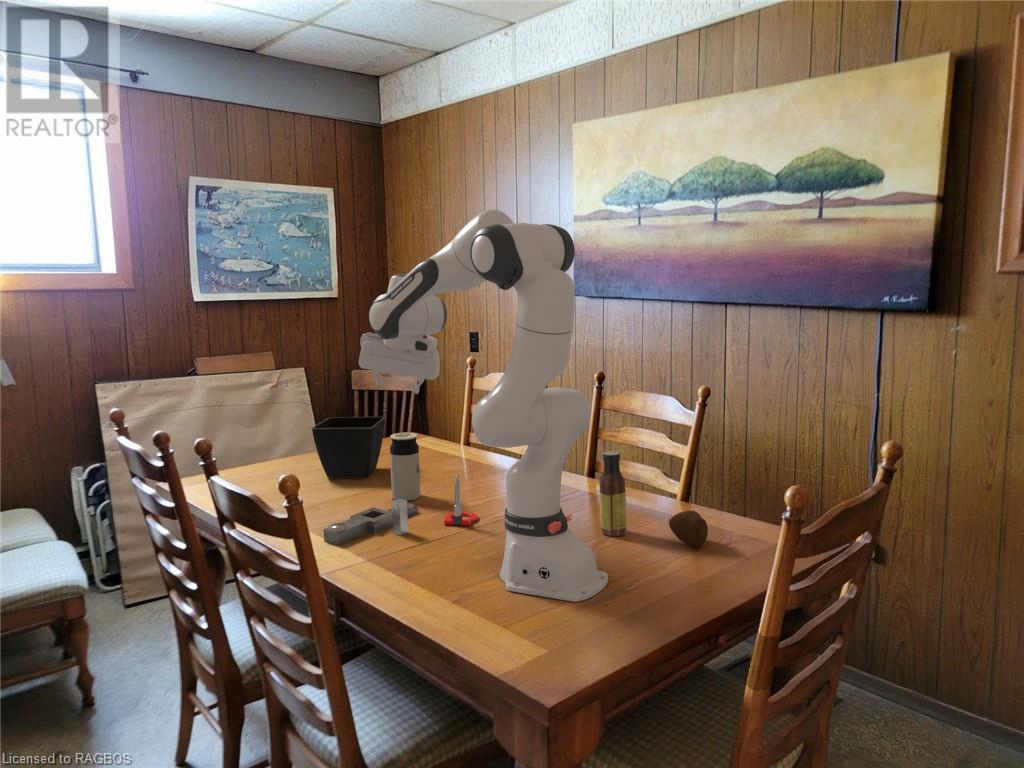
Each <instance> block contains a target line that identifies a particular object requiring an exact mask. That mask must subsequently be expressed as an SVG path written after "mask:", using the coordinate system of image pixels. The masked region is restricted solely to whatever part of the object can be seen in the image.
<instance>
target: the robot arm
mask: <svg viewBox="0 0 1024 768" xmlns="http://www.w3.org/2000/svg"><path fill="white" fill-rule="evenodd" d="M574 259H575V244H574V240H573V238H572V236H571V234H570V233H569V231H567V230H566V229H565V228H563V227H561V226H558V225H555V224H550V223H549V224H548V223H545V224H544V223H543V224H539V223H527V222H514V221H513V220H512V219H511V218H510V217H509V215H507V214H506V213H505V212H503V211H501V210H498V209H486V210H484V211H481V212H479V214H477V215H476V216H474V217H472V219H471V220H470V221H467V224H465V225H464V226H463V227H462V228H461V229H460V230H459V231H458V233H457V234H456V235H455V236H454V237H453V239H452V240H450V242H448V243H447V244H446V245H445V246H444V247H442V248H441V249H440V250H439V251H438V252H436V253H435V254H433V255H431V256H430V257H428V258H426V259H424V260H423V261H421V263H419V264H417V265H416V266H415V267H414V268H413V269H411V271H409V272H408V273H396V274H394V275H392V276H391V277H390V280H389V283H388V288H387V291H386V293H384V294H380V295H378V296H377V298H375V300H374V301H373V302H372V304H371V306H370V307H369V310H368V322H369V326H370V328H371V330H372V331H374V332H366V333H363V334H362V335H361V337H360V341H359V343H360V347H361V348H360V353H359V359H358V365H359V367H360V368H361V369H362V370H363V369H364V370H370V371H371V374H372V376H373V380H374V381H375V388H378V389H379V388H380V389H382V388H383V386H384V379H382V378H381V377H380V375H379V374H380V373H381V372H382V373H386V374H388V373H389V374H394V375H399V376H404V377H405V376H406V377H411V378H416V380H417V382H418V383H417V384H413V386H412V388H411V394H414V395H415V394H416V395H418V394H419V392H420V386H421V385H422V384H423V383H424V381H425V380H430V381H434V380H435V379H437V378H438V376H439V375H440V366H441V365H440V364H441V361H440V353H439V351H438V349H437V347H438V343H439V342H438V341H439V339H437V338H435V337H433V335H436V334H440V332H442V330H443V329H444V328H445V325H446V323H447V319H448V318H447V317H448V310H447V309H448V308H447V306H446V303H445V302H444V301H443V300H442V298H440V297H439V296H437V294H441V293H442V294H443V293H448V292H456V291H459V292H460V291H466V290H470V289H471V290H472V289H474V288H477V287H478V286H480V285H482V284H483V283H485V282H487V281H488V282H489V283H493V284H495V286H497V287H498V288H499V289H501V290H502V291H507V290H510V289H511V288H513V289H514V290H515V291H516V294H517V299H518V301H517V304H518V305H517V311H516V312H517V313H516V318H515V328H514V336H513V341H512V342H513V343H512V347H511V348H512V349H511V353H510V357H509V361H508V364H507V366H506V369H505V370H504V372H503V374H502V376H501V378H500V379H499V381H497V384H495V386H494V387H493V388H492V389H491V390H490V391H489V392H488V393H487V394H485V396H483V397H482V398H480V399H479V400H478V401H477V403H476V405H475V406H474V408H473V410H472V415H471V427H472V430H473V432H474V433H473V434H474V435H475V436H476V438H477V440H478V441H479V442H480V443H482V444H481V445H483V446H485V447H490V448H500V449H502V448H503V449H510V448H517V447H523V446H524V447H525V446H527V448H526V450H525V452H524V454H523V455H522V456H521V458H520V459H519V460H517V461H516V462H515V463H514V464H512V465H511V466H510V468H509V470H508V471H507V473H506V479H505V480H506V481H505V482H506V483H505V485H506V492H505V493H506V508H505V509H504V528H505V533H506V535H505V548H504V553H503V554H504V555H503V559H502V564H501V569H500V571H499V577H500V579H501V581H503V582H504V585H505V589H506V590H507V591H509V592H515V593H519V594H520V593H522V594H527V595H532V596H536V597H537V596H538V597H545V598H550V599H557V600H561V601H566V602H567V601H568V602H573V603H574V602H580V601H585V600H587V599H590V598H592V597H594V596H595V595H597V594H598V593H600V592H601V591H602V590H604V588H606V587H607V584H608V582H609V576H608V573H607V572H605V571H602V570H599V569H598V565H597V561H596V560H597V559H596V555H595V552H594V551H593V549H592V548H591V547H590V546H588V544H586V543H585V542H584V541H583V540H582V539H581V538H579V536H577V535H576V534H575V533H574V531H573V530H571V529H570V528H569V524H568V522H569V521H571V520H572V516H573V514H571V513H570V514H569V515H567V516H566V515H565V514H564V511H563V509H562V507H561V492H562V491H561V489H562V488H561V487H562V475H563V469H564V466H565V462H566V459H567V457H568V455H569V453H570V451H571V449H572V447H573V446H574V444H575V442H576V441H577V440H578V438H579V437H580V436H582V434H584V433H585V432H586V431H587V429H588V427H589V425H590V423H591V418H592V413H591V412H592V410H591V406H590V403H589V400H588V399H587V397H586V396H585V394H583V392H582V391H580V390H578V389H575V388H568V387H559V386H558V387H557V386H554V387H548V385H550V383H551V382H552V381H553V380H554V379H556V378H557V377H559V376H560V375H562V374H563V372H564V371H565V370H566V369H567V366H568V363H569V358H570V351H571V344H572V337H573V331H574V322H575V309H576V307H575V306H576V300H575V299H576V298H575V284H574V281H573V279H572V277H571V276H570V274H568V273H567V272H568V271H569V270H570V268H571V267H572V265H573V263H574ZM431 335H432V336H431Z"/></svg>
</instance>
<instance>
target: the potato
mask: <svg viewBox="0 0 1024 768" xmlns="http://www.w3.org/2000/svg"><path fill="white" fill-rule="evenodd" d="M668 525H669V528H670V530H671V531H672V533H673V534H674V535H675V536H676V538H678V539H679V540H680V541H681V542H683V543H684V544H686V545H687V544H688V546H689V545H691V546H690V547H692V546H699V547H701V546H702V545H703V544H705V542H706V540H707V539H708V534H709V533H708V532H709V529H708V523H707V522H706V520H705V519H704V518H703V517H702V516H701V515H700V513H698V512H697V511H695V510H685V511H681V512H678V513H676V514H675V515H673V516H672V517H671V518H670V519H669V522H668Z"/></svg>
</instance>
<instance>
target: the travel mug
mask: <svg viewBox="0 0 1024 768" xmlns="http://www.w3.org/2000/svg"><path fill="white" fill-rule="evenodd" d="M417 437H418V434H417V433H414V432H398V433H393V434H391V435H390V439H391V444H390V446H389V456H390V457H389V458H390V461H389V462H390V482H391V484H390V485H391V498H392V500H394V501H395V500H397V499H402V500H407V502H411V501H410V500H412V501H415V500H417V499H419V498H420V497H421V480H420V476H421V473H420V448H419V447H420V446H419V444H418V442H417Z"/></svg>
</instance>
